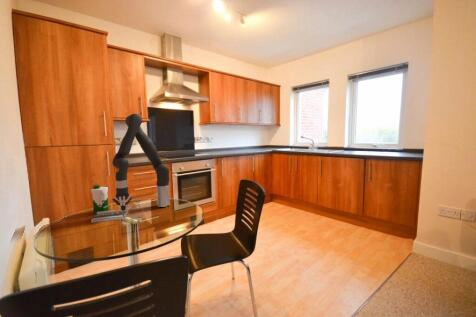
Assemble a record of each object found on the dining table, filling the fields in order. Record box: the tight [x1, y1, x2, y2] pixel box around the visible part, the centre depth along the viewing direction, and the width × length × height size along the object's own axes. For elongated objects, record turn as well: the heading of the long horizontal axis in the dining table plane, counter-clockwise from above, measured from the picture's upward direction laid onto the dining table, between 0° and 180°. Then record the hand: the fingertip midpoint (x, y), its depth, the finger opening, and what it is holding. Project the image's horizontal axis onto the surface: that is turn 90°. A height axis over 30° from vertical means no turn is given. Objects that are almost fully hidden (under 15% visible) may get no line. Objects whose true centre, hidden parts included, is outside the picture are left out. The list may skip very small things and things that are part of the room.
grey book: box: [91, 208, 128, 220], centre depth 147 cm, size 19×13×2 cm
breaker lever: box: [114, 203, 122, 215], centre depth 148 cm, size 4×3×6 cm
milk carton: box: [90, 184, 110, 215], centre depth 156 cm, size 9×9×20 cm
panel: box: [90, 209, 130, 224], centre depth 148 cm, size 20×13×2 cm, turn 107°
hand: (123, 210), depth 150 cm, fingers closed
